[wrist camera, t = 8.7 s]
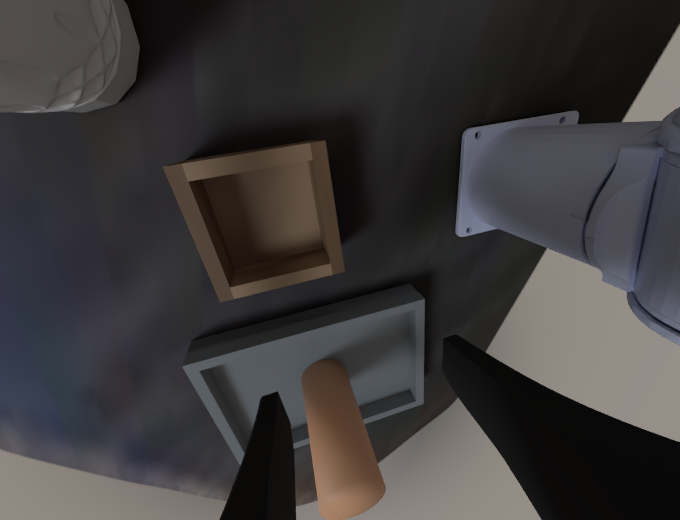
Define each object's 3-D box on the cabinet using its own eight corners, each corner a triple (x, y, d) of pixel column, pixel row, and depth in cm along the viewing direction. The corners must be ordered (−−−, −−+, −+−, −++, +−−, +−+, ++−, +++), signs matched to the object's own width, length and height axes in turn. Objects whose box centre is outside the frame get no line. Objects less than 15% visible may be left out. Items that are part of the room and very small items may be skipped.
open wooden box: (314, 139, 16) (325, 140, 13) (332, 250, 20) (344, 271, 16) (184, 160, 15) (162, 166, 12) (228, 274, 18) (220, 302, 15)
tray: (409, 283, 23) (424, 298, 20) (411, 383, 29) (423, 403, 26) (191, 340, 20) (182, 366, 18) (243, 438, 26) (241, 467, 24)
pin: (338, 352, 22) (376, 469, 14) (351, 380, 24) (391, 498, 16) (294, 371, 22) (309, 502, 14) (310, 398, 24) (332, 527, 16)
